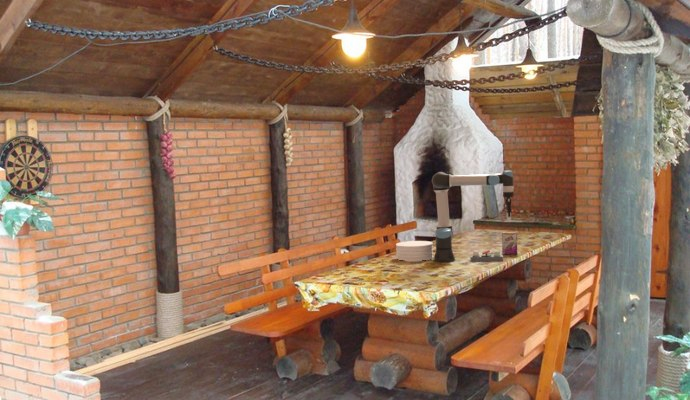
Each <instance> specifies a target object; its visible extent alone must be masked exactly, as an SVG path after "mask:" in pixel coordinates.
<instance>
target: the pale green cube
mask: <svg viewBox="0 0 690 400" xmlns="http://www.w3.org/2000/svg"><path fill="white" fill-rule="evenodd" d="M493 251H494V252H493V253H494V254H493V255H495V256H500V255H501V254H500V250H493Z"/></svg>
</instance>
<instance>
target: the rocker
mask: <svg viewBox="0 0 690 400" xmlns="http://www.w3.org/2000/svg"><path fill="white" fill-rule="evenodd" d="M489 253H491V251H490V249H488V250H485V251H483V252H481V255H485V254H489Z"/></svg>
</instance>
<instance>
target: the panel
mask: <svg viewBox="0 0 690 400" xmlns="http://www.w3.org/2000/svg"><path fill="white" fill-rule="evenodd" d="M503 255H504V254H500V256H495V255H494V254H489V253H487V254H484V255H483V254H479V257H473V255H470V257H469V258H470V262H503V261H504V256H503Z"/></svg>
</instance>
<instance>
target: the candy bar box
mask: <svg viewBox="0 0 690 400" xmlns="http://www.w3.org/2000/svg"><path fill="white" fill-rule="evenodd" d="M501 247H502V248H501V249H502V251H501V253H502V254H501V255H517V254H518V232H517V231H502V233H501Z"/></svg>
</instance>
